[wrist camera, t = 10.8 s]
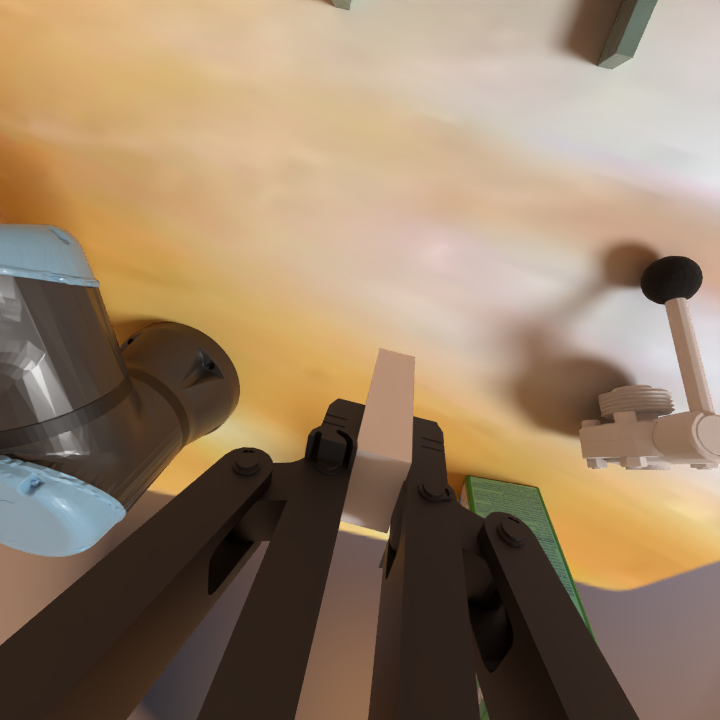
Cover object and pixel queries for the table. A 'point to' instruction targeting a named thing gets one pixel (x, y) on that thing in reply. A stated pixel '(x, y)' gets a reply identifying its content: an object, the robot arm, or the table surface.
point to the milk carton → (533, 512)
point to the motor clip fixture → (623, 33)
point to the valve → (660, 393)
